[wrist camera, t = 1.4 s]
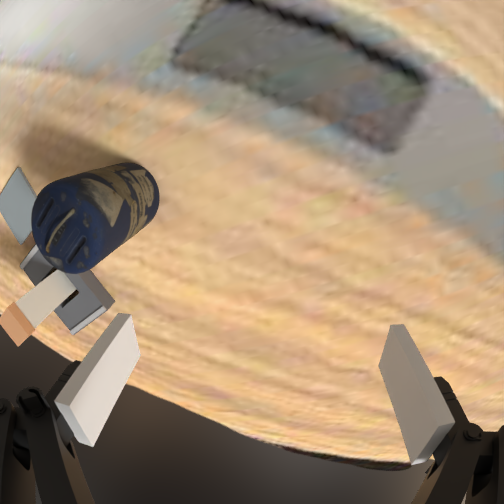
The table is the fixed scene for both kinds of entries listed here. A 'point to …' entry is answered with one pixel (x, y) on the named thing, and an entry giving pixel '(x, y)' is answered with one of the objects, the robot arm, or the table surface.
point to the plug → (35, 306)
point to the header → (83, 304)
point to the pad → (18, 205)
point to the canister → (92, 214)
